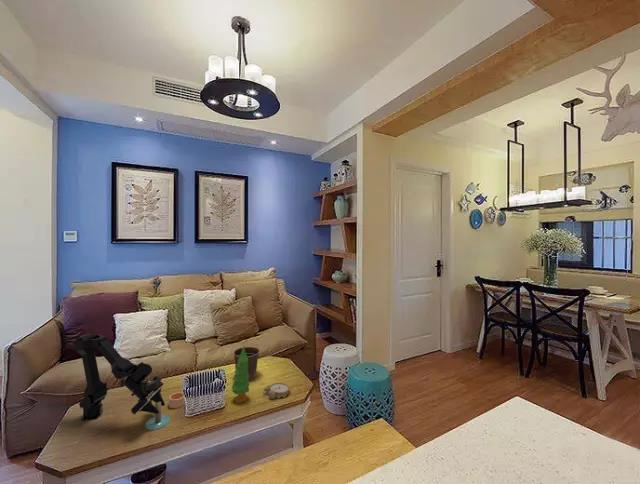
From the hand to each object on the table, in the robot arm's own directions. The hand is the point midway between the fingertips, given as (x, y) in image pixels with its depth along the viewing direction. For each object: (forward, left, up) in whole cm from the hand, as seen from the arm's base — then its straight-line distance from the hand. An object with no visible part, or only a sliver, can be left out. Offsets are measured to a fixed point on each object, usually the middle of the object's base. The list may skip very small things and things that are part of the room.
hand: (161, 409), depth 134 cm
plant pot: (+39, +37, -7) cm, 54 cm away
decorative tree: (+36, +12, -7) cm, 38 cm away
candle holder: (+55, +14, -7) cm, 57 cm away
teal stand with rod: (-1, 0, -7) cm, 7 cm away
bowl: (+4, +14, -7) cm, 16 cm away
